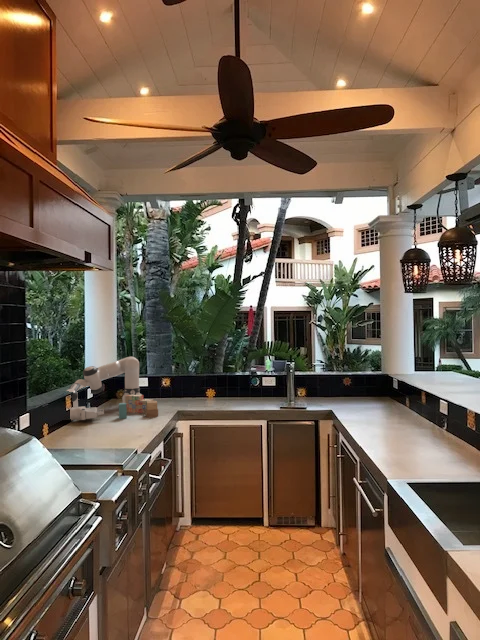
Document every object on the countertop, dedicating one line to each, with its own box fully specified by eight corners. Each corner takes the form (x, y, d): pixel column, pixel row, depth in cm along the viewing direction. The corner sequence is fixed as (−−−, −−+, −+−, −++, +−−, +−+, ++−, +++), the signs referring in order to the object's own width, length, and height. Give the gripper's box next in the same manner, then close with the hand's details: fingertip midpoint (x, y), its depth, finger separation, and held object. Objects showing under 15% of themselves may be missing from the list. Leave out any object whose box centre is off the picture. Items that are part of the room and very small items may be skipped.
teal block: (119, 417, 338) (118, 403, 338) (126, 417, 339) (126, 402, 339) (119, 419, 333) (119, 404, 333) (126, 418, 334) (126, 404, 334)
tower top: (146, 408, 345) (146, 401, 345) (156, 407, 347) (156, 400, 347) (147, 410, 338) (147, 403, 338) (157, 409, 340) (157, 402, 340)
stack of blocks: (154, 412, 357) (154, 395, 357) (149, 413, 351) (149, 396, 351) (130, 410, 365) (130, 394, 365) (125, 412, 360) (125, 395, 360)
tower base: (145, 415, 345) (145, 408, 345) (156, 414, 347) (156, 407, 347) (146, 417, 337) (146, 410, 337) (158, 416, 339) (158, 409, 339)
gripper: (83, 414, 339) (103, 413, 342) (82, 420, 319) (104, 418, 323) (83, 405, 339) (103, 404, 342) (82, 410, 319) (104, 409, 323)
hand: (103, 411), depth 333 cm, fingers open, 8 cm apart
